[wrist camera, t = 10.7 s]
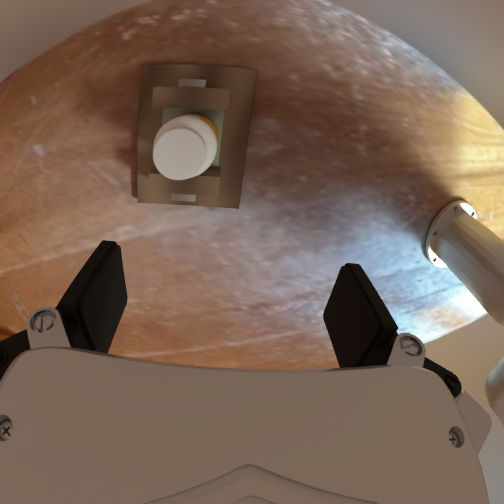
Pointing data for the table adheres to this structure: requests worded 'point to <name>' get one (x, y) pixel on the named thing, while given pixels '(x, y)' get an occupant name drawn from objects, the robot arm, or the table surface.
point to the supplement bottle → (185, 146)
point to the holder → (203, 102)
